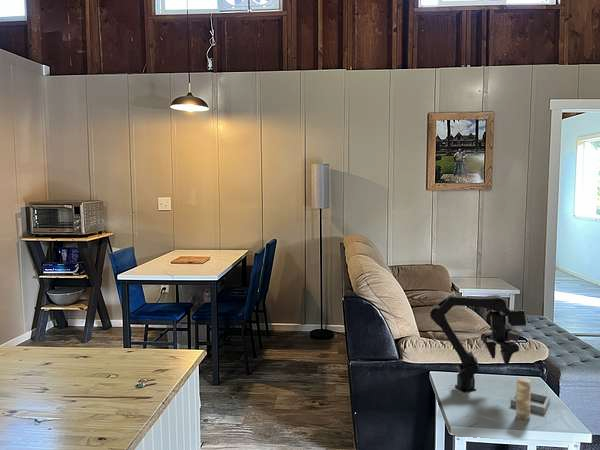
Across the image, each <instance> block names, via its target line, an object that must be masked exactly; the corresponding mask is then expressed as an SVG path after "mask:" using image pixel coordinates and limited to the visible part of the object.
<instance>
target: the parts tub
mask: <svg viewBox="0 0 600 450" xmlns="http://www.w3.org/2000/svg"><path fill="white" fill-rule="evenodd" d="M531 400H532V401H533V400H535V401H539V402H543V404H542V406H541V405H539V404H538V405H537V404H533V403H530V412H533V413H537V414H543V415H545V414H546V412H547V409H548V407H549V405H550V403H551V396H550V395H544V394H541V393H538V392H537V393H536V392H532V391H531ZM510 406H511V407H514V408H516V391H515V392H514V394H513V396H512V397H511V398H510Z"/></svg>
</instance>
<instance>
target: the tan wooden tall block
mask: <svg viewBox="0 0 600 450" xmlns="http://www.w3.org/2000/svg"><path fill="white" fill-rule="evenodd" d="M531 383H532V382H531V380H530V379H527V378H525V377H524V378H523V377H520V378H516V391H515V392H516V407H515V409H516V412H515V416H516V417H517V419H518V420H519V419H520V420H523V421H529V420H531V411H530V404H531V401H532V399H531V392H532V389H531V388H532V387H531V385H532V384H531Z"/></svg>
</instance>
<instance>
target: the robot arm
mask: <svg viewBox="0 0 600 450" xmlns="http://www.w3.org/2000/svg"><path fill="white" fill-rule="evenodd" d="M454 306H456V307H457V306H458V307H470V308H471V307H472V308H473V307H474V308H475V307H476V308H484V309H487V310H488V311H486V312H485V315H486V316H487V317H490V323H491V324H490V325H491V326H490V327H488V329H489V331H490V332H483V333H482V334H481V335H480V340H481V341H482V344H484V346H485V347H486V349H487V351H488V352H489V355H490V357H491V359H495V357H496V347H497V345H499V346H500V347H499V348H500V354H501V357H502V360H503V363H504V366H506V367H507V366H509V363H510V361H511V358H512V356H513V354H514V353H515V354H516V353H517V352H520V346H519V345H518V344H517V343H518V342H519V339H520V336H521V335H520V334H518V333H516V332H513V331H512V330H511V328H509V327H507V324H508V325H510V327H526V326H527V319H526V314H525V310H524V309H510V307H509V306H507V303H506V301H505V299H504V298H503V297H502V296H501V295H497V294H496V295H487V296H463V295H455V294H454V295H453V294H449V295H448V296H447V297H446V298H445V299H443V300H441V301H440V302H439V303H437V304H434V305H432V306H431V308H430V309H429V310H430V311H429V315H430V319H431V320H432V321H433V322H434V323H435V324H436V325H437V327H439V328H440V329H441V330H442V331H443V334H444V335H445V337H446V338H447V340H448V341H449V342H450V344H451V346H452V347H453V349H454V350H455V352H456V354H457V355H458V357H459V359H460V362H461V363H460V364H459V365H457V368H458V373H457V374H456V375H457V376H456V377H457V378H456V384H455V385H454V387H455V388H456V389H458V390H459V391H461V392H463V393H467V392H468V393H469V392H474V391H475V392H476V391H477V389H476V388H475V387H476V385H475V383H476V379H475V374H477V373H478V371H479V366H478V365H479V362H478V359H477V357H475V355H474V353H473V351H470V352H469V351H468V350H467V349H466V348H465V346H464V345H463V342H462V341H461V339H460V338H459V337H458V335H457V333H456V332H455V331H454V329H453V327H452V326H451V324H450V323H449V320H448V318H447V315H446V314H447V313H448V312H449V311H450V310H451V309H452V308H453V307H454ZM515 342H516V343H515Z"/></svg>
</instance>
